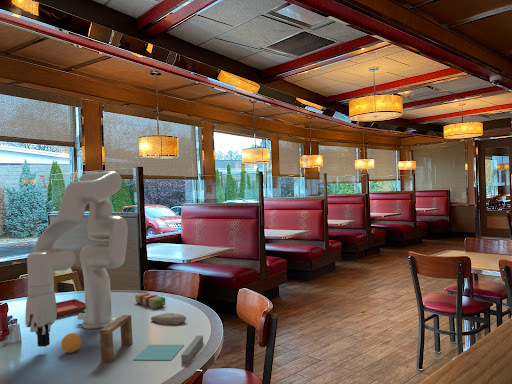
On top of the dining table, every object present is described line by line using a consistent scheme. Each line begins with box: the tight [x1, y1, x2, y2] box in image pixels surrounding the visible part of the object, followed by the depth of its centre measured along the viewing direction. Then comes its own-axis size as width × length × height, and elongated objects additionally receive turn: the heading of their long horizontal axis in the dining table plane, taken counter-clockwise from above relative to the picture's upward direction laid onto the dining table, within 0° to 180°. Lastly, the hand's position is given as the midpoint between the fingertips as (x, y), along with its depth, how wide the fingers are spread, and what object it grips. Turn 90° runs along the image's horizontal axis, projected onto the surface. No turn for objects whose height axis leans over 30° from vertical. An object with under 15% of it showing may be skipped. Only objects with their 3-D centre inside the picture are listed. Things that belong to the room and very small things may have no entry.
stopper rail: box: [180, 335, 204, 365], centre depth 130 cm, size 2×16×2 cm, turn 171°
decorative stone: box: [150, 312, 187, 325], centre depth 162 cm, size 6×16×3 cm, turn 73°
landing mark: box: [133, 344, 185, 362], centre depth 131 cm, size 12×12×1 cm
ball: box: [60, 332, 82, 354], centre depth 136 cm, size 6×6×6 cm
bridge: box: [99, 314, 133, 363], centre depth 133 cm, size 3×15×10 cm, turn 171°
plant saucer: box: [56, 298, 86, 319], centre depth 184 cm, size 18×18×3 cm
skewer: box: [134, 292, 166, 309], centre depth 187 cm, size 21×6×5 cm, turn 46°
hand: (43, 345), depth 137 cm, fingers closed
